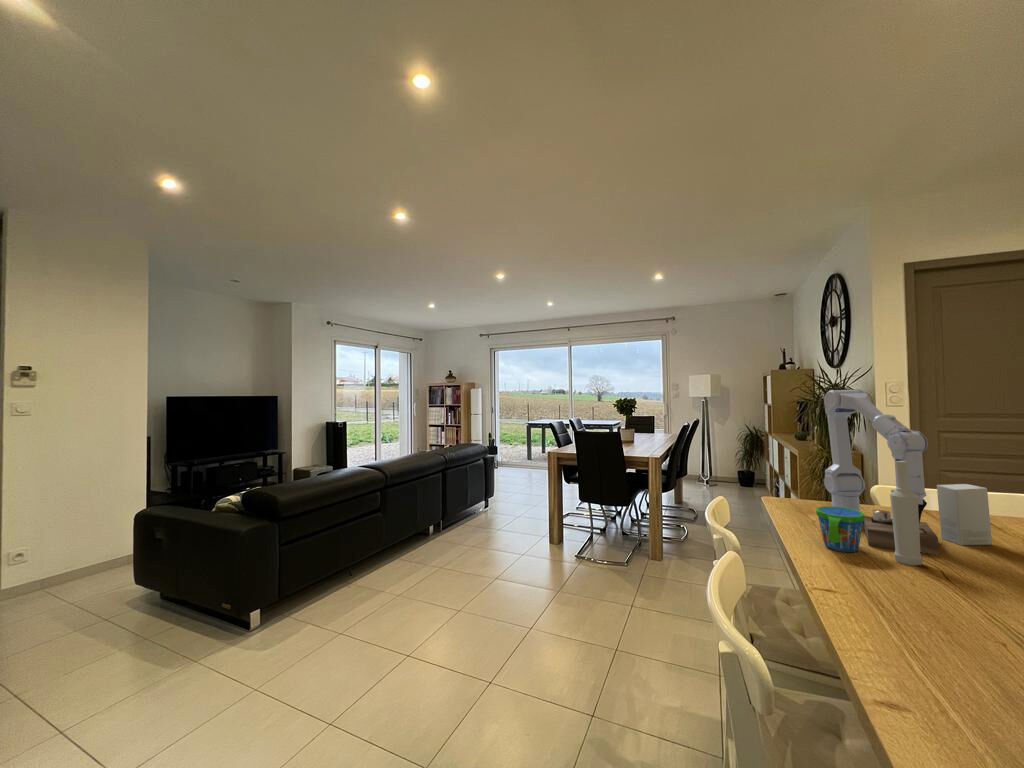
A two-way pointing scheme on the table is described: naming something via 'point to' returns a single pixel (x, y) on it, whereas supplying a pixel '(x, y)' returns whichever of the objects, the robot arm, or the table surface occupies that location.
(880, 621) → the table surface
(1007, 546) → the table surface
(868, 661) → the table surface
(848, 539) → the snack cup
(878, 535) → the walnut block
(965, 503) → the skincare box
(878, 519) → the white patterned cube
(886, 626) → the table surface
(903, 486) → the bottle
